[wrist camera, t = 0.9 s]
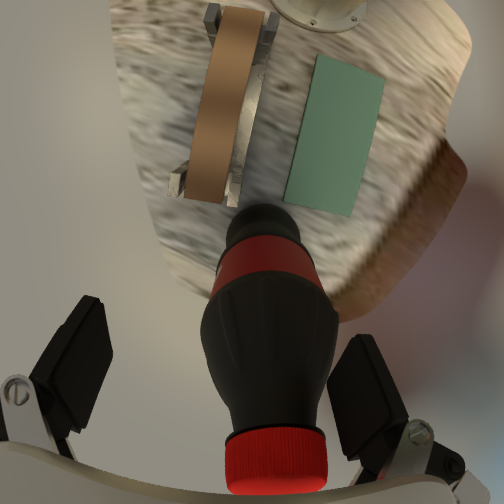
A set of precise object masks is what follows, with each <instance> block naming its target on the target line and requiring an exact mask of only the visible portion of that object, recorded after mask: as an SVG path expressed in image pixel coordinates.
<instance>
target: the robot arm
mask: <svg viewBox="0 0 504 504" xmlns="http://www.w3.org/2000/svg"><path fill="white" fill-rule="evenodd" d="M271 1H272V3H273V5H274V6H275V7H276V9H277V10H278V11H279V12H280V13H281V14H282V15H283V16H285V17H286V18H287V19H289V20H290V21H292V22H293V23H295V24H297V25H299V26H302V27H304V28H307V29H310V30H313V31H318V32H326V33H335V32H342V31H346V30H349V29H351V28H353V27H355V26H356V25H357V24H359V23H360V22H361V21H362V19H363V18H364V16H365V14H366V12H367V0H271ZM310 23H312V24H313V25H311V24H310ZM112 358H113V350H112V346H111V341H110V336H109V331H108V326H107V320H106V314H105V309H104V304H103V303H101V302H100V300H99V298H96V297H92V296H88V295H84V296H83V297H82V298H81V300H80V301H79V303H78V304H77V305H76V307H75V308H74V310H73V311H72V313H71V314H70V315H69V317H68V318H67V320H66V322H65V323H64V324H63V325H61V326H60V327H59V328H58V330H57V331H56V333H55V334H54V336H53V337H52V339H51V341H50V342H49V344H48V345H47V347H46V349H45V350H44V352H43V354H42V355H41V357H40V359H39V360H38V362H37V364H36V366H35V367H34V369H33V370H32V372H31V374H30V376H29V378H27V377H26V376H24V375H20V374H17V375H12V376H10V377H8V378H7V379H6V380H5V381H4V382H3V384H2V386H1V389H0V504H488V503H489V501H490V493H489V491H488V490H487V488H486V487H485V486H484V485H483V484H482V483H481V482H480V481H479V480H478V479H477V478H476V477H475V476H474V475H473V474H472V473H471V472H470V471H469V470H466V471H465V462H464V460H463V458H462V457H461V456H460V455H459V454H458V453H456V452H454V451H452V450H450V449H448V448H446V447H445V446H443V445H441V444H439V443H437V442H435V441H434V432H433V429H432V428H431V426H430V425H429V424H428V423H427V422H425V421H423V420H420V419H413V420H411V421H410V422H409V421H408V417H409V415H408V413H407V411H406V408H405V406H404V404H403V401H402V399H401V396H400V394H399V392H398V390H397V387H396V385H395V383H394V381H393V378H392V376H391V374H390V372H389V370H388V368H387V365H386V363H385V361H384V359H383V357H382V355H381V353H380V350H379V349H378V347H377V344H376V342H375V340H374V338H373V336H372V335H370V334H357V335H356V336H355V337H353V338H352V339H351V340H350V341H349V343H348V345H347V347H346V349H345V350H344V352H343V354H342V356H341V358H340V360H339V361H338V363H337V364H336V366H335V368H334V370H333V371H332V373H331V374H330V376H329V378H328V380H327V390H328V394H329V398H330V402H331V406H332V410H333V413H334V418H335V422H336V426H337V430H338V435H339V439H340V443H341V447H342V451H343V454H344V455H345V456H347V460H348V461H353V460H359V459H360V462H361V466H360V468H359V469H358V471H357V473H356V475H355V476H354V478H353V480H352V481H351V483H350V485H349V486H348V487H344V488H337V489H331V490H325V491H316V492H308V493H297V494H281V495H232V494H216V493H205V492H196V491H189V490H182V489H175V488H170V487H164V486H159V485H154V484H150V483H145V482H141V481H137V480H133V479H129V478H126V477H122V476H118V475H115V474H112V473H109V472H106V471H102V470H99V469H96V468H93V467H90V466H87V465H85V464H82V463H80V462H78V460H77V458H76V456H75V454H74V452H73V449H72V447H71V445H70V442H69V440H68V436H69V432H70V430H71V431H74V432H77V433H79V434H80V432H81V429H82V428H83V429H84V428H86V426H87V424H88V421H89V418H90V415H91V412H92V410H93V406H94V404H95V401H96V399H97V396H98V393H99V391H100V388H101V386H102V383H103V381H104V378H105V376H106V373H107V371H108V368H109V366H110V364H111V361H112Z"/></svg>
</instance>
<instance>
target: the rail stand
mask: <svg viewBox="0 0 504 504" xmlns="http://www.w3.org/2000/svg"><path fill="white" fill-rule="evenodd" d="M280 17H281V14H280V13H275V12H270V15H269V19H268V23H267V26H266V25H262V27H261V31H260V34H259V38H258V42H257V46H256V50H255V54H254V58H253V62H252V66H251V70H250V74H249V78H248V83H247V87H246V91H245V95H244V100H243V104H242V109H241V113H240V118H239V122H238V127H237V132H236V136H235V141H234V146H233V151H232V156H231V161H230V166H229V171H228V176H227V181H226V186H225V191H224V195H225V196H228V200H227V206H231V207H236V208H237V205H238V200H239V196H240V191H241V186H242V173H243V168H244V163H245V158H246V154H247V149H248V145H249V140H250V135H251V131H252V126H253V122H254V117H255V113H256V109H257V104H258V100H259V95H260V91H261V87H262V83H263V78H264V74H265V70H266V66H267V62H268V58H269V53H270V49H271V45H272V43H273V40H274V37H275V35H276V32H277V29H278V25H279V21H280ZM221 19H222V14H221V9H220V4H216V3H209V5H208V8H207V11H206V14H205V17H204V20H203V22H204V24H205V27H206V30H207V33H208V37H209V40H210V42H211V45H212V48H213V47H214V44H215V40H216V36H217V33H218V29H219V26H220V23H221ZM188 165H189V160H188V161H186V162H185V163H183V164H182V165H180V167H178V168H177V169H175V170H174V171H172V172H171V173H170V179H169V187H168V195H167V196H171V197H178V196H179V195H180V194H181V193H182V192H183V190H184V189H185V184H186V178H187V171H188Z"/></svg>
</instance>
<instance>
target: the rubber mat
mask: <svg viewBox="0 0 504 504" xmlns="http://www.w3.org/2000/svg"><path fill="white" fill-rule="evenodd" d="M384 83H385V79H383V78H380V77H378V76H376V75H374V74H371V73H369V72H367V71H364V70H362V69H359V68H357V67H354V66H352V65H349V64H346V63H344V62H341V61H338V60H335V59H333V58H330V57H327V56H324V55H320V54H318V55H317V58H316V63H315V67H314V72H313V76H312V80H311V85H310V89H309V94H308V98H307V102H306V107H305V111H304V115H303V119H302V124H301V128H300V132H299V136H298V140H297V145H296V149H295V153H294V157H293V161H292V165H291V169H290V173H289V177H288V181H287V185H286V189H285V193H284V197H283V202H287V203H291V204H296V205H300V206H305V207H309V208H314V209H318V210H322V211H327V212H331V213H335V214H339V215H343V216H347V217H350V215H351V212H352V209H353V206H354V203H355V199H356V196H357V193H358V189H359V186H360V182H361V179H362V175H363V172H364V168H365V165H366V161H367V157H368V153H369V150H370V146H371V142H372V138H373V134H374V129H375V125H376V121H377V117H378V112H379V107H380V103H381V98H382V93H383V88H384Z"/></svg>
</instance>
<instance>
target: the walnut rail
mask: <svg viewBox="0 0 504 504" xmlns="http://www.w3.org/2000/svg"><path fill="white" fill-rule="evenodd" d="M264 14H265V12H263V11H257V10H252V9H245V8H238V7H231V6H225V9H224V13H223V16H222V19H221V23H220V26H219V29H218V33H217V36H216V40H215V44H214V47H213V51H212V55H211V59H210V63H209V67H208V71H207V75H206V79H205V83H204V88H203V92H202V97H201V101H200V106H199V111H198V116H197V121H196V126H195V131H194V136H193V142H192V147H191V153H190V159H189V165H188V171H187V178H186V184H185V191H184V198H187V199H194V200H200V201H205V202H211V203H217V204H222V200H223V196H224V191H225V186H226V181H227V176H228V171H229V166H230V161H231V156H232V151H233V146H234V141H235V136H236V132H237V127H238V122H239V118H240V113H241V109H242V104H243V100H244V95H245V91H246V87H247V83H248V78H249V74H250V70H251V66H252V62H253V58H254V54H255V50H256V46H257V42H258V38H259V34H260V31H261V27H262V23H263V18H264Z"/></svg>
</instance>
